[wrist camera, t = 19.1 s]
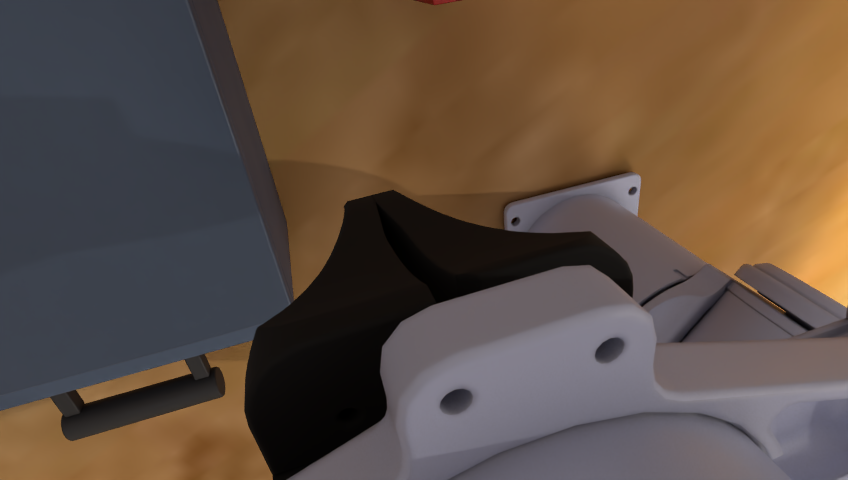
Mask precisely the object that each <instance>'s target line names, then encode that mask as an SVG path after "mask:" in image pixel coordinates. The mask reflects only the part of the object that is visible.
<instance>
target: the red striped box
mask: <svg viewBox="0 0 848 480" xmlns="http://www.w3.org/2000/svg"><path fill="white" fill-rule="evenodd" d="M415 1H419V2H423V3H428V4H432V5H438V4H444V3H449V2H455V1H461V0H415Z"/></svg>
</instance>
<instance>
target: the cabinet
mask: <svg viewBox="0 0 848 480" xmlns="http://www.w3.org/2000/svg"><path fill="white" fill-rule="evenodd" d="M293 301H294V298H293V287H292V276H291V265H290V254H289V242H288V231H287V222H286V219H285V215H284V212H283V209H282V206H281V203H280V199H279V196H278V193H277V190H276V187H275V183H274V180H273V177H272V174H271V171H270V167H269V164H268V161H267V158H266V155H265V151H264V148H263V145H262V142H261V139H260V136H259V132H258V129H257V126H256V123H255V120H254V116H253V113H252V110H251V107H250V104H249V100H248V97H247V94H246V91H245V88H244V84H243V81H242V78H241V75H240V72H239V68H238V65H237V62H236V59H235V56H234V52H233V49H232V46H231V43H230V40H229V36H228V33H227V30H226V27H225V24H224V20H223V17H222V14H221V11H220V8H219V4H218V1H217V0H0V396H2V395H6V394H9V393H13V392H16V391H20V390H24V389H27V388H31V387H35V386H38V385H42V384H46V383H49V382H53V381H57V380H60V379H64V378H67V377H71V376H75V375H78V374H82V373H86V372H89V371H93V370H97V369H100V368H104V367H108V366H111V365H115V364H118V363H122V362H126V361H129V360H133V359H137V358H140V357H144V356H148V355H151V354H155V353H158V352H162V351H166V350H169V349H173V348H177V347H180V346H184V345H188V344H191V343H195V342H199V341H202V340H206V339H209V338H213V337H217V336H220V335H224V334H228V333H231V332H235V331H239V330H242V329H246V328H250V327H253V326H257V325H260V324H264V323H265V322H266V321H268V320H269V319H271V318H272V317H274V316H275V315H277V314H278V313H279V312H281V311H282V310H284V309H285V308H286V307H287V306H289V305H290V304H291V303H292V302H293Z"/></svg>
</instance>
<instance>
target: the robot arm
mask: <svg viewBox="0 0 848 480" xmlns="http://www.w3.org/2000/svg"><path fill="white" fill-rule="evenodd" d="M640 184H641V177H640V176H639V175H638V174H636V173H634V172H629V173H625V174H621V175H617V176H613V177H609V178H606V179H602V180H598V181H594V182H590V183H586V184H582V185H578V186H574V187H570V188H566V189H562V190H558V191H555V192H551V193H547V194H543V195H539V196H535V197H531V198H527V199H523V200H519V201H515V202H512V203H510V204H508V205H507V206H506V207H505V209H504V226H505V230H502V229H495V228H489V227H484V226H480V225H476V224H472V223H468V222H464V221H461V220H458V219H455V218H452V217H450V216H447V215H444V214H442V213H439V212H437V211H434V210H432V209H430V208H428V207H426V206H424V205H421V204H419V203H417V202H415V201H413V200H412V199H410V198H408V197H406V196H404V195H402V194H400V193H398V192H396V191H394V190H390V191H386V192H382V193H378V194H375V195H371V196H367V197H363V198H359V199H355V200H351V201H347V203H346V204H345V206H344V208H345V212H344V219H343V224H342V227H341V230H340V234H339V237H338V239H337V242H336V244H335V246H334V249H333V251H332V253H331V255H330V257H329V259H328V261H327V263H326V264H325V266H324V268H323V269H322V271H321V272H320V274H319V275H318V276H317V277H316V279H315V280H314V281H313V282H312V283H311V285H310V286H309V287H308V288H307V289H306V290H305V291H304V292H303V293H302V294H301V295H300V296H299V297H298V298H297V299H296V300H295V301H293V302H292V303H291V304H290V305H289V306H287V307H286V308H285V309H284V310H282V311H281V312H279V313H278V314H277V315H275V316H274V317H272V318H271V319H269V320H268V321H266V322H265V323H264V324H262V325H260V326H259V327H257V329H256V332H255V335H254V339H253V343H252V347H251V350H250V355H249V360H248V364H247V371H246V379H245V409H244V411H245V415H246V419H247V422H248V426H249V428H250V430H251V432H252V434H253V436H254V438H255V440H256V442H257V444H258V446H259V448H260V450H261V452H262V454H263V456H264V459H265V461H266V463H267V465H268V467H269V469H270V471H271V473H272V475H273V480H848V307H847V308H846V307H845V306H843V305H841V304H840V303H838V302H836V301H835V300H833V299H831V298H830V297H828V296H826V295H825V294H823V293H821V292H820V291H818V290H816V289H815V288H813V287H811V286H810V285H808V284H806V283H804V282H803V281H801V280H799V279H798V278H796V277H794V276H792V275H791V274H789V273H787V272H785V271H783V270H782V269H780V268H778V267H776V266H774V265H772V264H770V263H762V264H755V265H754V266H751V265H749V264H744V265H742V266H741V267H740V268H739V270H738V271H737V272H736V273H735V274H734V275H735V276H737V277H738V278H740V279H741V280H743V281H744V282H746V283H747V284H749V285H750V286H752V287H753V288H755V289H756V290H757V292H758V293H759V294H761V295H762V296H763V297H765V298H766V299H768V300H769V301H771V302H772V303H774V304H775V305H777V306H778V307H780V308H781V309H783V310H784V311H786V312H784V311H783V310H781V309H780V308H778V307H777V306H775V305H774V304H772V303H771V302H769V301H768V300H766V299H765V298H763V297H762V296H760V295H759V294H757V293H755V292H754V291H752V290H751V289H749V288H747V287H746V286H744V285H743V284H741V283H739V282H738V281H736V280H735V279H733V278H731V277H730V276H728V275H726V274H725V273H723V272H722V271H720V270H718V269H717V268H715V267H714V266H712V265H710V264H707V263H706V262H704V261H703V260H701V259H700V258H699V257H697V256H696V255H694V254H693V253H691V252H690V251H688V250H687V249H685V248H684V247H682V246H681V245H679V244H678V243H676V242H675V241H673V240H672V239H670V238H669V237H667V236H666V235H664V234H663V233H661V232H660V231H658V230H657V229H655V228H654V227H652V226H651V225H650V224H648V223H647V222H645V221H644V220H642V219H641V218H639V217H638V216H637V214H638V204H639V194H640ZM631 187H632V190H631V191H630V192H629V189H630V188H631ZM515 217H517V220H516V221H515V222H514V223H511V221H512V219H513V218H515Z"/></svg>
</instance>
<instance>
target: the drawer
mask: <svg viewBox="0 0 848 480" xmlns="http://www.w3.org/2000/svg"><path fill="white" fill-rule="evenodd" d="M260 325H262V324H260ZM260 325H257V326H253V327H250V328H246V329H242V330H239V331H235V332H231V333H228V334H224V335H220V336H217V337H213V338H209V339H206V340H202V341H199V342H195V343H191V344H188V345H184V346H180V347H177V348H173V349H169V350H166V351H162V352H158V353H155V354H151V355H148V356H144V357H140V358H137V359H133V360H129V361H126V362H122V363H118V364H115V365H111V366H108V367H104V368H100V369H97V370H93V371H89V372H86V373H82V374H78V375H75V376H71V377H67V378H64V379H60V380H57V381H53V382H49V383H46V384H42V385H38V386H35V387H31V388H27V389H24V390H20V391H16V392H13V393H9V394H6V395H2V396H0V411H1V410H5V409H8V408H12V407H15V406H19V405H23V404H26V403H30V402H33V401H37V400H41V399H44V398H48V397H50V398H51V399H52V401H53V402H54V403H55V405H56V406H57V407H58V409H59V410H60V411H61V413H62V414H63V415H62V419H61V427H62V431H63V434H64V436H65V437H66V438H67V439H68V440H70V441H74V440H78V439H81V438H85V437H88V436H91V435H95V434H98V433H102V432H105V431H108V430H112V429H115V428H119V427H122V426H125V425H129V424H132V423H135V422H139V421H142V420H146V419H149V418H152V417H156V416H159V415H163V414H166V413H169V412H173V411H176V410H179V409H183V408H186V407H190V406H193V405H196V404H200V403H203V402H207V401H210V400H213V399H217V398H220V397H223V396H224V394H225V382H224V377H223V374H222V372H221V370H220V368H219V367H213V368H211V367H210V365H209V363H208V360H207V358H206V356H205V353H209V352H212V351H216V350H220V349H223V348H227V347H230V346H234V345H237V344H241V343H245V342H248V341H252V340H253V339H254V335H255V332H256V329H257V327H259V326H260ZM184 359H185V361H186V363H187V365H188V367H189V369H190V371H191V373H192V374H188V375H185V376H181V377H178V378H174V379H171V380H167V381H164V382H160V383H157V384H153V385H150V386H146V387H143V388H139V389H136V390H132V391H129V392H125V393H122V394H118V395H115V396H111V397H107V398H104V399H100V400H97V401H93V402H90V403H86V404H84V401H83V400H82V398H81V397H80V395H79V394H78V393H77V391H76V389H80V388H83V387H87V386H91V385H94V384H98V383H101V382H105V381H109V380H112V379H116V378H119V377H123V376H126V375H130V374H134V373H137V372H141V371H144V370H148V369H152V368H155V367H159V366H162V365H166V364H169V363H173V362H177V361H180V360H184Z"/></svg>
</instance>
